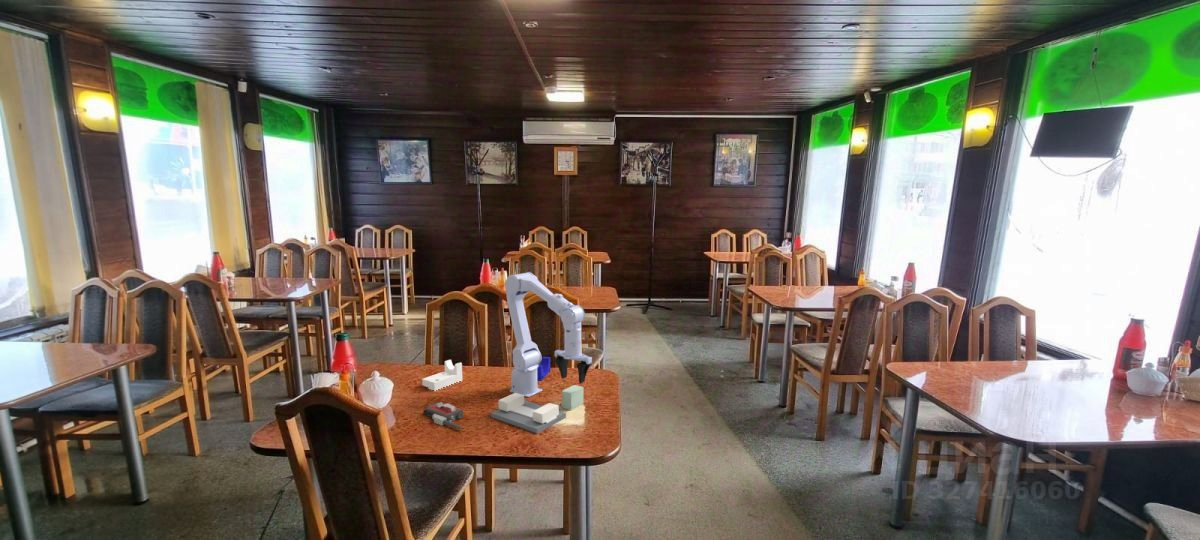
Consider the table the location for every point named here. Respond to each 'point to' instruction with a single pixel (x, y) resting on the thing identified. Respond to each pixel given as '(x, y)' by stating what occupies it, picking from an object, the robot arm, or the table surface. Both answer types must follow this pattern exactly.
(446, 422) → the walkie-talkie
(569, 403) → the module block
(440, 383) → the bracket
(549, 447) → the table surface
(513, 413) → the mounting plate
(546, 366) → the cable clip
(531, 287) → the robot arm
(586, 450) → the table surface
